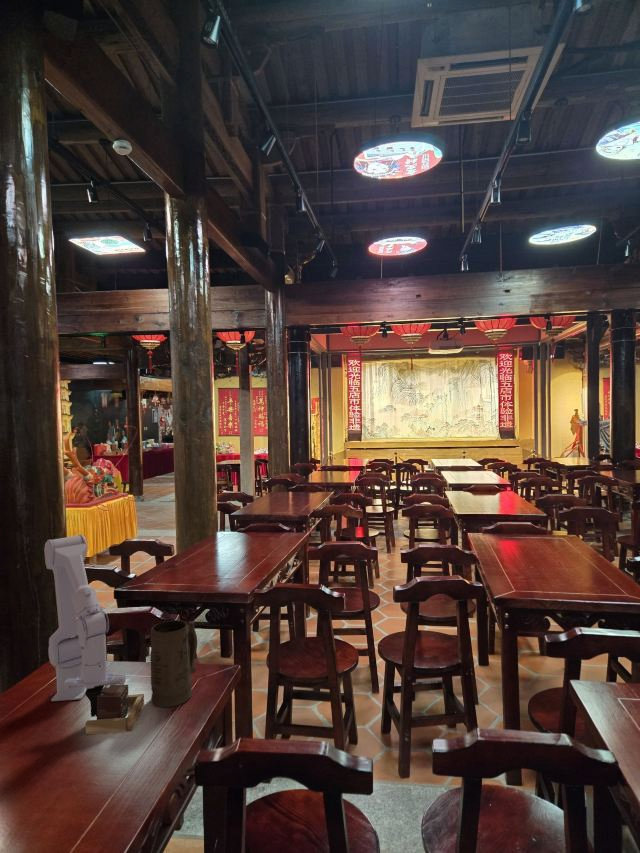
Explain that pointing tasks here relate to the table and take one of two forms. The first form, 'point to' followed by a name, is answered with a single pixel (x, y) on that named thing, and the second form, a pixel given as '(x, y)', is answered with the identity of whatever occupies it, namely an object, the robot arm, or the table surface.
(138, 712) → the slot rails
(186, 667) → the beer stein
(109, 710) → the box
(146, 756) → the table surface
